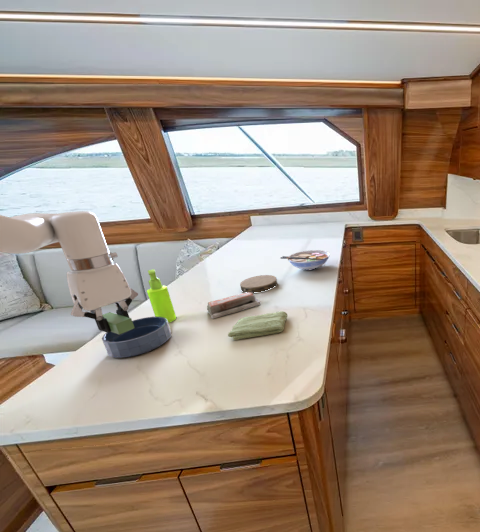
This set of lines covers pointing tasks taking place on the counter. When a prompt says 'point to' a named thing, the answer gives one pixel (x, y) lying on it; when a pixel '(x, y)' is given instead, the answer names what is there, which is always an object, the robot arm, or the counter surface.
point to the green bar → (118, 323)
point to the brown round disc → (258, 283)
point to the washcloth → (258, 325)
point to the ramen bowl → (308, 259)
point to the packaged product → (232, 304)
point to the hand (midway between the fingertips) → (115, 326)
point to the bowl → (138, 337)
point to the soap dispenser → (160, 298)
